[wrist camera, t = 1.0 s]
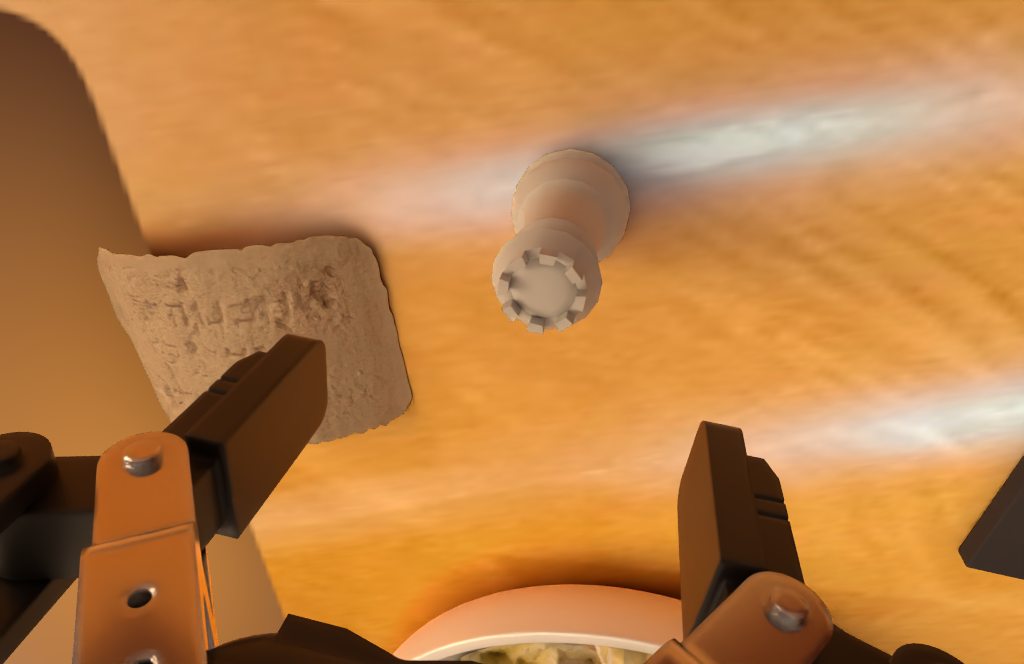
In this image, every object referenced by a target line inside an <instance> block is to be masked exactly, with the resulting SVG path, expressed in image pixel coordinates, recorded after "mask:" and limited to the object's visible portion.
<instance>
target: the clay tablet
mask: <svg viewBox="0 0 1024 664" xmlns="http://www.w3.org/2000/svg"><path fill="white" fill-rule="evenodd" d="M97 264H98V269H99V272H100V275H101V277H102V279H103V282H104V285H105V287H106V289H107V291H108V295H109V298H110V301H111V303H112V307H113V310H114V313H115V315H116V317H117V319H118V320H119V322H120V324H121V325H122V326H123V328H124V329H125V331H126V332H127V334H128V335H129V337H130V338H131V340H132V342H133V344H134V346H135V348H136V350H137V352H138V355H139V357H140V359H141V362H142V364H143V366H144V368H145V371H146V373H147V375H148V377H149V379H150V381H151V383H152V385H153V387H154V390H155V392H156V396H157V398H158V400H159V402H160V404H161V405H162V407H163V410H164V411H165V413H166V414H167V415H168V417H169V419H170V421H171V423H172V422H173V421H174V420H175V419H176V418H177V417H178V416H179V415H180V414H181V413H182V412H184V411H185V410H186V409H187V408H188V407H189V406H190V405H191V404H192V403H193V402H194V401H195V400H196V399H197V398H198V397H199V396H201V395H202V394H203V393H204V392H205V391H208V388H209V387H210V386H211V385H212V384H213V383H214V382H215V381H216V380H217V379H221V376H222V375H223V374H224V373H225V372H226V371H227V370H228V369H229V368H230V367H231V366H232V365H233V364H234V363H236V362H237V361H239V360H241V359H243V358H245V357H247V356H249V355H252V354H254V353H256V352H258V351H261V352H266V353H267V352H268V351H269V350H270V349H271V348H272V347H273V346H274V345H275V344H276V343H277V342H278V341H279V340H280V339H281V338H282V337H283V336H284V335H286V334H293V335H298V336H303V337H307V338H312V339H317V340H322V341H323V342H324V344H325V348H326V366H327V392H328V402H327V409H326V413H325V416H324V419H323V421H322V423H321V425H320V427H319V428H318V429H317V431H316V432H315V434H314V435H313V436H312V438H311V439H310V440H309V442H308V443H309V444H319V443H321V442H329V441H332V440H335V439H337V438H343V437H347V436H348V435H350V434H353V433H354V432H355V433H364V432H366V431H367V429H368V428H370V429H375V428H377V427H378V426H379V425H385V426H386V425H387V424H388V423H389V422H390V421H391V420H393V419H395V418H397V417H399V416H400V415H402V414H404V412H406V406H408V405H409V403H410V400H411V398H412V394H411V390H410V386H409V383H408V379H407V374H406V370H405V366H404V362H403V357H402V354H401V350H400V347H399V343H398V336H397V331H396V327H395V324H394V318H393V316H392V314H391V312H390V310H389V305H388V293H387V289H386V288H385V287H384V286H383V284H382V281H381V278H380V273H379V267H378V263H377V260H376V258H375V257H374V256H373V254H372V249H371V248H370V247H368V246H366V245H364V244H363V243H362V242H361V241H360V240H359V239H358V238H356V237H355V238H348V237H346V236H337V237H334V236H333V235H327V236H319V237H316V236H310V237H308V238H307V239H305V240H299V239H297V240H296V241H295V242H293V243H276V244H274V245H273V246H271V247H268V246H264V245H251V246H246V247H245V248H244V249H243V250H238V249H221V250H207V251H200V252H194V253H192V254H191V255H189V256H188V257H187V258H181V257H179V256H175V255H174V256H171V255H169V256H161V255H160V256H159V257H155V256H153V255H150V254H147V255H143V256H141V257H139V256H134V255H130V254H128V255H124V254H123V253H122V254H120V255H119V254H115V255H114V253H113V252H112V254H111V253H110V252H109V250H108V249H107V250H105V249H104V248H103V249H102V248H101V247H100V248H99V255H98V259H97Z"/></svg>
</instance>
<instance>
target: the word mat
mask: <svg viewBox="0 0 1024 664" xmlns="http://www.w3.org/2000/svg"><path fill="white" fill-rule="evenodd" d="M958 551H959V553H960V555H961V557H962V559H963V561H964V563H965V565H966V566H967V567H969V568H974V569H978V570H983V571H987V572H992V573H996V574H1001V575H1005V576H1010V577H1014V578H1019V579H1023V580H1024V456H1023V458H1022V459H1021V461H1020V462H1019V463H1018V465H1017V466H1016V468H1015V469H1014V471H1013V472H1012V474H1011V475H1010V476H1009V478H1008V479H1007V481H1006V482H1005V484H1004V485H1003V486H1002V488H1001V489H1000V491H999V492H998V494H997V495H996V496H995V498H994V499H993V501H992V502H991V504H990V505H989V506H988V508H987V509H986V511H985V512H984V514H983V515H982V517H981V518H980V519H979V521H978V522H977V524H976V525H975V527H974V528H973V529H972V531H971V532H970V534H969V535H968V537H967V538H966V539H965V541H964V542H963V544H962V545H961V547H960V548H959V550H958Z"/></svg>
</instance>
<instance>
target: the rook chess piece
mask: <svg viewBox="0 0 1024 664" xmlns="http://www.w3.org/2000/svg"><path fill="white" fill-rule="evenodd" d="M630 209H631V207H630V201H629V196H628V190H627V185H626V184H625V182H624V181H623V179H622V178H621V177H620V175H619V174H618V172H617V171H616V169H615V168H614V166H612V165H611V164H609V163H608V162H606V161H605V160H603V159H602V158H600V157H599V156H597V155H596V154H594V153H590V152H584V151H579V150H574V149H567V150H562V151H558V152H553V153H549V154H546V155H545V156H543V157H542V158H540V159H539V160H538V161H536V162H535V163H533V164H532V165H530V166H529V167H528V168H527V170H526V171H525V173H524V175H523V176H522V178H521V180H520V181H519V183H518V185H517V186H516V191H515V193H514V197H513V204H512V211H511V218H512V222H513V226H514V229H515V233H516V236H515V237H514V238H512V239H510V240H509V241H507V242H506V243H505V244H504V245H503V247H502V248H501V250H500V252H499V253H498V255H497V256H496V258H495V260H494V265H493V272H492V283H493V286H494V289H495V293H496V296H497V299H498V300H499V301H500V303H501V304H502V305H503V308H502V310H503V312H504V313H505V314H506V315H507V317H508V318H509V319H510V320H511V322H513V321H514V320H515V319H518V320H520V321H521V322H523V323H525V324H526V325H528V327H527V330H526V331H529V332H533V333H538V334H543V332H544V329H547V330H549V329H556V328H557V329H558V331H559V332H561V331H562V330H564V329H566V328H568V327H570V326H571V325H573V324H574V323H576V322H578V321H580V320H582V319H583V318H585V317H586V316H587V315H588V314H589V312H590V311H591V310H592V309H593V307H594V306H595V305H596V303H597V302H598V299H599V295H600V290H601V286H602V278H601V274H600V269H599V264H598V262H600V261H602V260H603V259H605V258H607V257H608V256H609V255H610V254H611V253H612V252H613V250H614V249H615V248H616V246H617V245H618V244H619V242H620V241H621V240H622V238H623V235H624V231H625V230H626V226H627V222H628V218H629V214H630Z"/></svg>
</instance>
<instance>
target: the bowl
mask: <svg viewBox="0 0 1024 664" xmlns="http://www.w3.org/2000/svg"><path fill="white" fill-rule="evenodd" d="M673 638H675V639H676V640H677V641H679V642H680V643H681V642H682V641H683V626H682V603H681V600H678V599H674V598H670V597H667V596H663V595H658V594H654V593H649V592H644V591H639V590H633V589H627V588H619V587H611V586H599V585H580V584H560V585H543V586H533V587H525V588H519V589H512V590H508V591H503V592H498V593H494V594H491V595H487V596H483V597H481V598H478V599H475V600H472V601H469V602H466V603H464V604H461V605H459V606H457V607H454V608H452V609H450V610H448V611H446V612H445V613H443V614H441V615H439V616H437V617H436V618H434V619H432V620H431V621H429V622H428V623H426V624H425V625H424V626H422V627H421V628H420V629H418V630H417V631H416V632H414V633H413V634H412V635H411V636H410V637H409V638H408V639H407V640H405V641H404V642H403V643H402V644H401V646H400V647H399V648H398V649H397V650H396V651H395V652H394V653H393V654H392V655H394V656H396V657H397V658H400V659H403V660H448V661H475V662H479V663H483V664H643V663H645V662H646V661H647V660H648V659H649V658H650V657H651V656H652V655H653V654H654V653H655V652H656V651H657V650H658V649H659V648H660V647H661V646H663V645H664V644H665V643H666V642H667V641H669V640H671V639H673Z"/></svg>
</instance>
